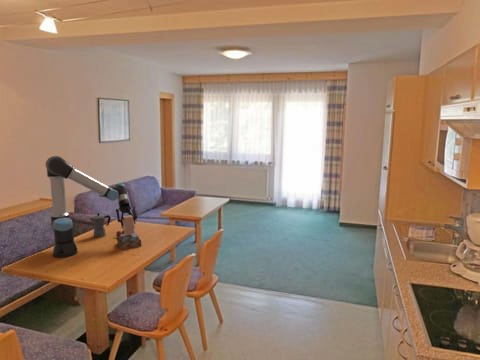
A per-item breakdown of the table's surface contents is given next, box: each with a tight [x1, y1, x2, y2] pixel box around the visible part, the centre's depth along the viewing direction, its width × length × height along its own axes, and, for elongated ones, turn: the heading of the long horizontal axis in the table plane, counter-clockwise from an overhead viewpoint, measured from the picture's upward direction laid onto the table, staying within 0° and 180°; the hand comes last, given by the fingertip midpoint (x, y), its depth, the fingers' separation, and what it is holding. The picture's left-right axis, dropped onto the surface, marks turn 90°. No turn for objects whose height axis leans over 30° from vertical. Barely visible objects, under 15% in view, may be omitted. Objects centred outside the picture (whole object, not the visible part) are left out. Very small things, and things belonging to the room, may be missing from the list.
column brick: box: [122, 214, 135, 234], centre depth 259 cm, size 6×6×12 cm
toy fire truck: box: [115, 226, 125, 238], centre depth 283 cm, size 3×14×10 cm, turn 143°
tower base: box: [116, 231, 142, 250], centre depth 260 cm, size 14×14×7 cm
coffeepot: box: [89, 212, 111, 238], centre depth 283 cm, size 15×9×18 cm, turn 112°
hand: (129, 228), depth 256 cm, fingers closed on column brick, 6 cm apart
